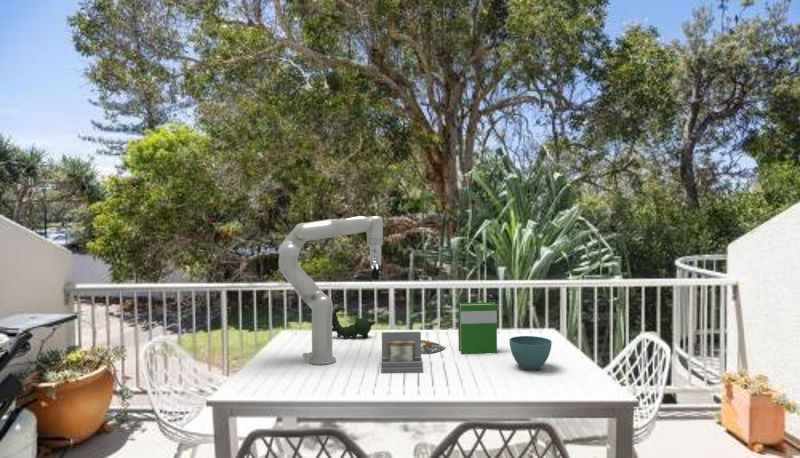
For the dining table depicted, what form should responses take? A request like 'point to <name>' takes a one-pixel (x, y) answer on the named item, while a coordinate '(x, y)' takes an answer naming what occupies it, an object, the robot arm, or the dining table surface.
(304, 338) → the dining table surface
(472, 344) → the hardback book
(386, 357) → the display ledge
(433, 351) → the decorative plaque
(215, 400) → the dining table surface
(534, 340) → the teal bowl
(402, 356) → the picture frame
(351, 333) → the toy figurine
